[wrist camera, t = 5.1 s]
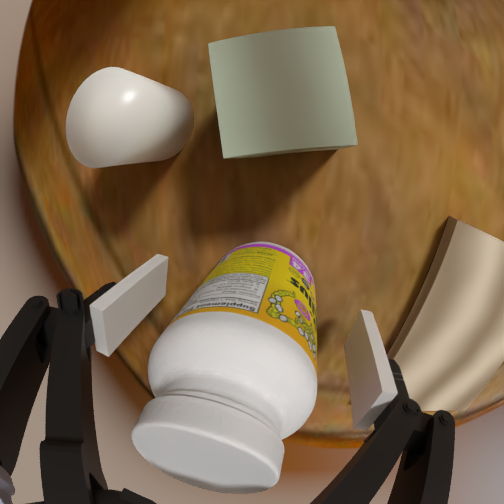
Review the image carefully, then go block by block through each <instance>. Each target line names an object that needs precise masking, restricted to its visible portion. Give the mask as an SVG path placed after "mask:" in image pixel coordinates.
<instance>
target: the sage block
mask: <svg viewBox="0 0 504 504" xmlns="http://www.w3.org/2000/svg"><path fill="white" fill-rule="evenodd" d="M208 47H209V55H210V63H211V70H212V78H213V86H214V93H215V101H216V108H217V115H218V123H219V130H220V137H221V144H222V151H223V158H254V157H262V156H270V155H279V154H288V153H299V152H310V151H323V150H338V149H343V148H347V147H351V146H356V145H357V137H356V129H355V122H354V115H353V109H352V103H351V97H350V91H349V86H348V81H347V76H346V71H345V66H344V62H343V57H342V53H341V49H340V45H339V41H338V37H337V33H336V29H335V26H328V27H307V28H294V29H284V30H276V31H269V32H262V33H256V34H250V35H244V36H239V37H234V38H230V39H225V40H221V41H217V42H213V43H209V44H208Z"/></svg>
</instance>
